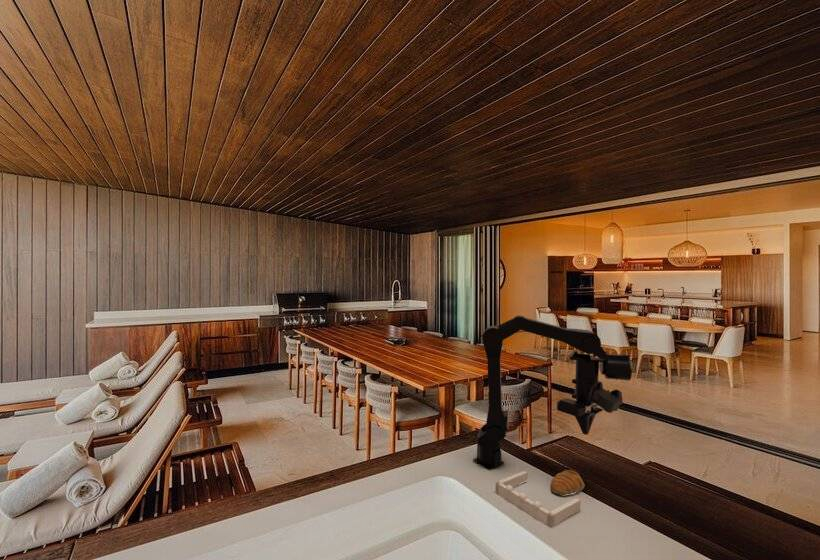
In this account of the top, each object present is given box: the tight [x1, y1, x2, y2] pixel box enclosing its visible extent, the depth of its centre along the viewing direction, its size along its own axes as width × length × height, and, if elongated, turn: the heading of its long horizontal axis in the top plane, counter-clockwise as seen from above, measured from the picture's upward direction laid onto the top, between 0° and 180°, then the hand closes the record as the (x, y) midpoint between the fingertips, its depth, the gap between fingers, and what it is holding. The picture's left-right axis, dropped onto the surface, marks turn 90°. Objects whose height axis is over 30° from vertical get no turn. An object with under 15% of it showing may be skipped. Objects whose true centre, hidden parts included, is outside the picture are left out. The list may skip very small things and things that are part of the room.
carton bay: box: [494, 470, 581, 528], centre depth 91 cm, size 16×11×3 cm
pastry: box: [549, 469, 585, 496], centre depth 97 cm, size 9×7×4 cm
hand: (585, 434), depth 103 cm, fingers closed
